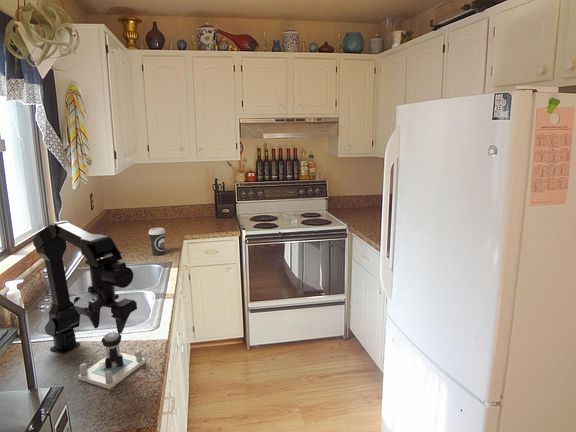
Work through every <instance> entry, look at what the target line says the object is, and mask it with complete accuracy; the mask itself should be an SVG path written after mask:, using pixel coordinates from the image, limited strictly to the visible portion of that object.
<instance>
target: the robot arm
mask: <svg viewBox="0 0 576 432" xmlns="http://www.w3.org/2000/svg"><path fill="white" fill-rule="evenodd" d="M67 242H68V244H71V245H73V246H75V247H77V248H78V249H80V252H81V253H80V254H81V255H82V256H83V257H85V258H86V260H85V265H88V266H89V272H90V274H89V275H90V281H91V282H90V283H91V284H90V285H88V288H87V291H86V292H84V293H82V294H80V295H77V296H75V297H74V299H73V302H72V300H71V297H70V292H69V287H68V281H67V276H66V270H65V265H64V260H63V257H64V255H65V253H66V250H67ZM32 243H33V246H34V248H35V250H36V254H38V255H39V256H40V257H41V258H42V259H43V260H44V264H45V269H46V275H47V279H48V284H49V290H50V296H51V301H52V305H51V306H50V309H49V311H48V322H46V325H45V326H44V332H45V334H46V335H48V336H50V337H52V340H53V346H51V347H50V348H49V350H50V351H51V352H52V351H53V352H57V353H59V354H66V353H68V352H69V351H71V350H73V349H74V348H76V347H78V346H79V345H81V342H80V341H77V338H76V334H75V329H76V328H78V327H80V321H81V315H83V316H85V317H88V318H89V321H90V322H91V324H92V326H93V328H94V329H98V328H99V326H100V317H101V309H102V308H103V307H104V308H105V307H106V308H109V309H110V313H111V314H112V315H111V318H113V319H114V320H115V324H116V325H115V326H116V330H117V331H116V332H117V333H118V334H120V335H122V333H123V332H124V329H125V326H126V324H127V322H128V319H129V317H130V315H131V313H133V312H135V311H136V310H137V309H138V306H137V305H138V304H137V303H138V302H137V301H136V300H134V299H129V298H123V299H121V300H119V301H116V300H118V299H119V294H116V289H115V287H117V288H120V289H125V288H127V287H128V286H130V285H131V283H132V282H133V279H134V272H133V269H131V267H129V266H126V265H127V264H126V262H125V261H122V260H123V256H122V254H121V251H120V250H119V248H118V247H117V245H116V243H115V242H114V240H113V239H112V238H111V236H109V235H105V234H100V233H99V234H98V233H97V234H95V233H90V232H89V231H87V230H84V229H82V228H80V227H78V226H76V225H74V224H72V223H71V222H70V221H69V220H60V221H56V222H52V223H51V224H49V225H48V227H46V228H44V229H43V230H41V231H39V232H38V233H37V234H35V237H34V238H33V240H32Z"/></svg>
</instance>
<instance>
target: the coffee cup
mask: <svg viewBox="0 0 576 432" xmlns="http://www.w3.org/2000/svg"><path fill="white" fill-rule="evenodd" d="M147 234H148V235H149V240H150V247H151V253H152V256H154V257H159V256H160V257H162V256H163V255H165V250H166V248H165V246H166V245H165V244H166V243H165V242H166V241H165V239H166V236H165V235H166V229H165V228H164V227H152V228H149V231H148V233H147Z"/></svg>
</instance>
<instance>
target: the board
mask: <svg viewBox="0 0 576 432" xmlns="http://www.w3.org/2000/svg"><path fill="white" fill-rule="evenodd" d="M116 349H117V346H116ZM120 353H121V355H122V356H123V366H121V367H120V366H118V367H116V368H106V367H102V365H105V364H102V363H103V362H105V359H106V357H104V358H103V359H101V360H99V361H98V362H97V363H95V364H92V366H90V367H89V368H88V364H87V363H86V362H83V363H80V365H79V370H80V374H78V375H77V379H78V380H80V381H83V382H86V383H89V384H93V385H95V386H99V387H102V388H105V389H107V390H111V389H112V388H113V387H115V386H116V385H117V384H118V383H120V382H122V381H123V380H124V379H126V378H127V377H128V376H129V375H131V374H132V373H133V372H134V371H136V370H137V369H138V368H140V367H141V366H142V365H144V364H145V363H146V358H144V357H143V354H142V353H143V352H142V349H136V350H135V352H134V353H135V355H133V354H132V355H131V354H130V353H124V352H120ZM109 357H110V355H109ZM100 363H101V365H99V364H100ZM100 366H101V367H100Z"/></svg>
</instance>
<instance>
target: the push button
mask: <svg viewBox="0 0 576 432" xmlns="http://www.w3.org/2000/svg"><path fill="white" fill-rule="evenodd" d="M101 342H102V346H103V347H105V351H106V355H105V358H106V359H105V362H103V363H102V364H105V365H102V367H106V368H116V367H118V366H120V367H121V366H123V356H122V355H121V353H122V352H121V353H120V349H121V348H120V343H121V342H122V334H118V332H117V331H115V332H114V331H112V332H108V333H105V335H104V336H103V337H102V338H101ZM116 346H117V349H116ZM109 355H110V357H109ZM99 365H101V363H100V364H99ZM100 367H101V366H100Z"/></svg>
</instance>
